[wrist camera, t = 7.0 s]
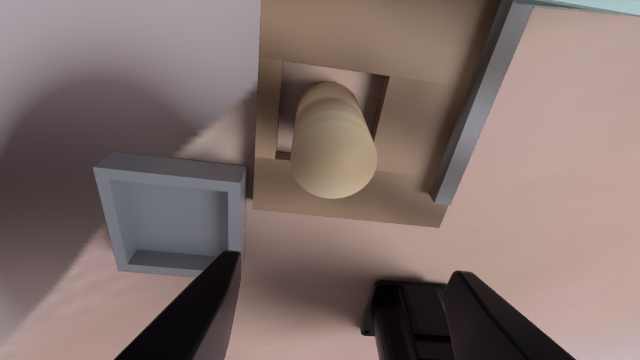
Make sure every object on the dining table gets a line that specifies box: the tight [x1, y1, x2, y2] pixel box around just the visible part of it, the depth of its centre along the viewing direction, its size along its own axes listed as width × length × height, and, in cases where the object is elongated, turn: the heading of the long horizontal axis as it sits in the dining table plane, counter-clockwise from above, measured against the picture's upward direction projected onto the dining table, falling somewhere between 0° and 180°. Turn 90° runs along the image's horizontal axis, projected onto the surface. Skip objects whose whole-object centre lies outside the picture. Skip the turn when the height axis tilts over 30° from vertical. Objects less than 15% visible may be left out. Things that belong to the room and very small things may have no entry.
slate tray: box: [93, 151, 247, 277], centre depth 21 cm, size 8×8×2 cm
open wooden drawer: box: [253, 0, 534, 228], centre depth 17 cm, size 18×12×2 cm
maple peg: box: [290, 82, 377, 199], centre depth 16 cm, size 4×4×6 cm
